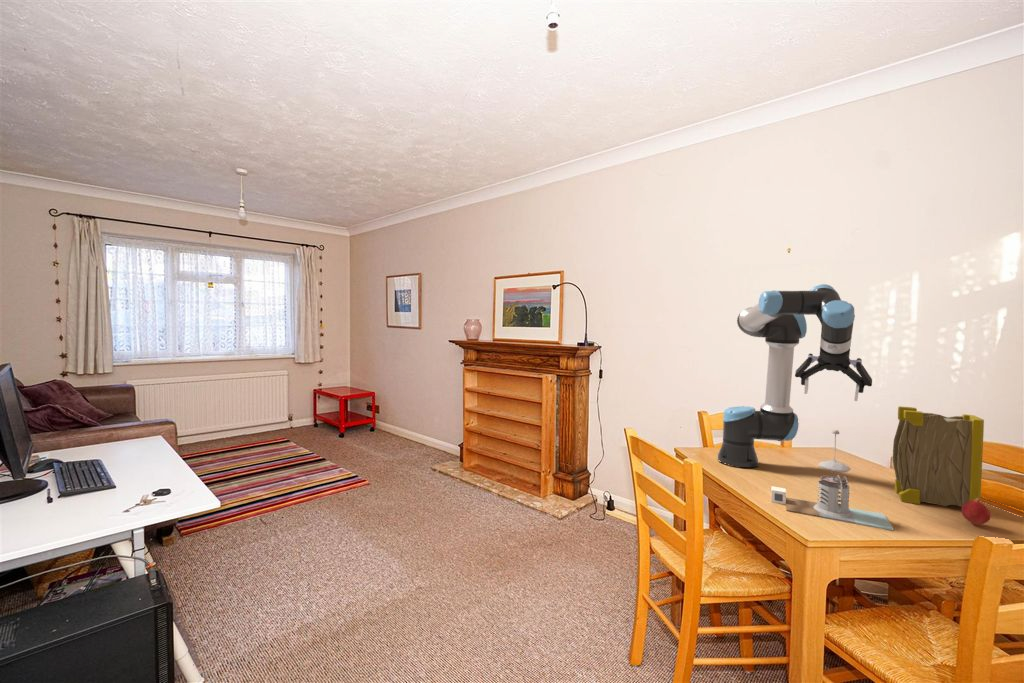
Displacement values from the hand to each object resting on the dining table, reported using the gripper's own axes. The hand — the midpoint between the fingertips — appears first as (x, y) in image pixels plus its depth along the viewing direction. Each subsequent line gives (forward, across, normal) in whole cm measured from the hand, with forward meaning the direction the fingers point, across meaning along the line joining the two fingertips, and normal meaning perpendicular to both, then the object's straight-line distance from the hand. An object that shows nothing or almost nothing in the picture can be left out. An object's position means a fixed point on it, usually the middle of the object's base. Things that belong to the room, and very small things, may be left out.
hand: (830, 394), depth 149 cm
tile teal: (+17, +14, -32) cm, 39 cm away
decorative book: (+36, +30, -8) cm, 47 cm away
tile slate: (+16, +5, -34) cm, 38 cm away
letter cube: (+17, -10, -34) cm, 40 cm away
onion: (+25, +37, -20) cm, 49 cm away
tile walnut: (+16, -3, -35) cm, 39 cm away
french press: (+16, +5, -34) cm, 38 cm away
